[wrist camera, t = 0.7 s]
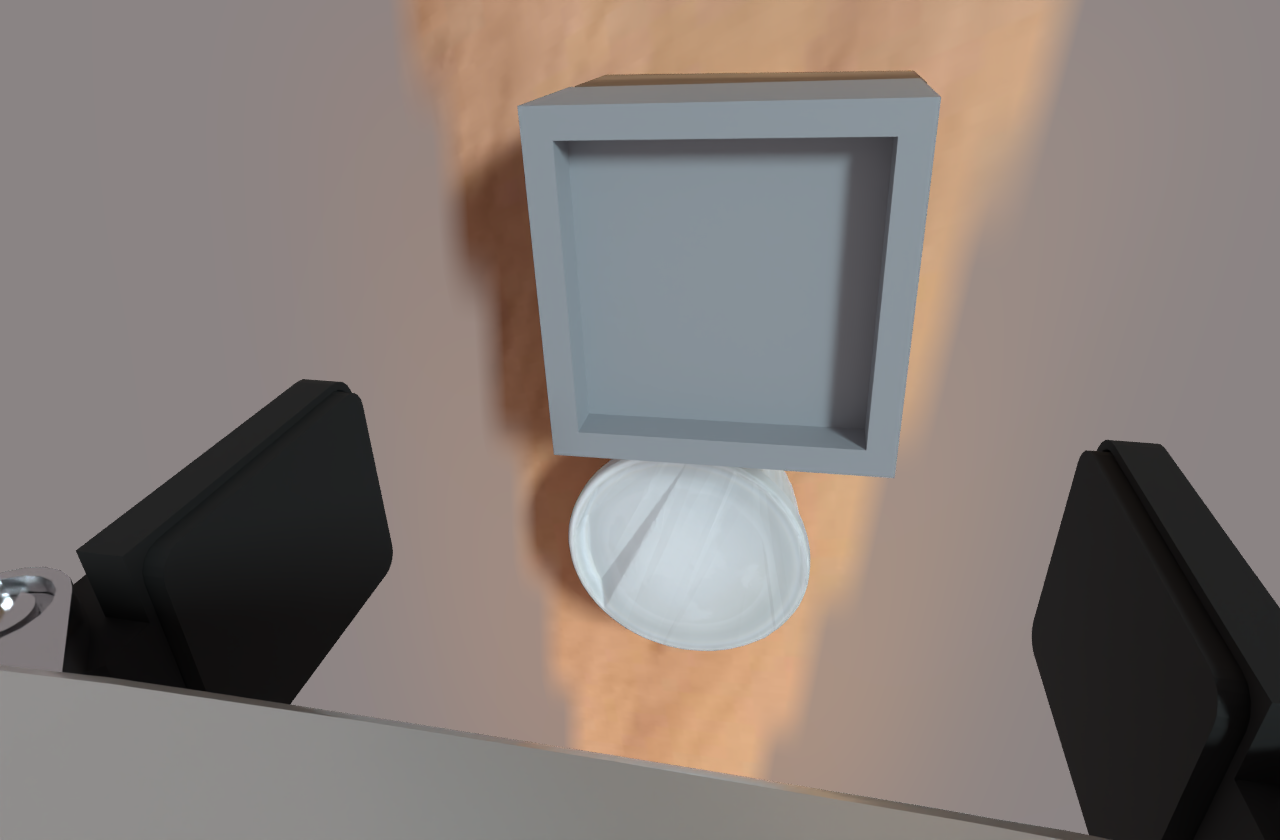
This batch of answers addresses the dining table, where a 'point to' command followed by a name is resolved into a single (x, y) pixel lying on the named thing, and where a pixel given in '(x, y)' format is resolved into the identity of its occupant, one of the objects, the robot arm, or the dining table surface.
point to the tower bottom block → (742, 78)
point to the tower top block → (730, 268)
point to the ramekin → (691, 551)
